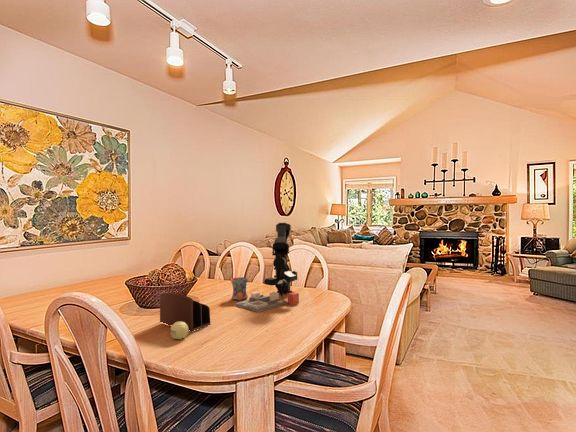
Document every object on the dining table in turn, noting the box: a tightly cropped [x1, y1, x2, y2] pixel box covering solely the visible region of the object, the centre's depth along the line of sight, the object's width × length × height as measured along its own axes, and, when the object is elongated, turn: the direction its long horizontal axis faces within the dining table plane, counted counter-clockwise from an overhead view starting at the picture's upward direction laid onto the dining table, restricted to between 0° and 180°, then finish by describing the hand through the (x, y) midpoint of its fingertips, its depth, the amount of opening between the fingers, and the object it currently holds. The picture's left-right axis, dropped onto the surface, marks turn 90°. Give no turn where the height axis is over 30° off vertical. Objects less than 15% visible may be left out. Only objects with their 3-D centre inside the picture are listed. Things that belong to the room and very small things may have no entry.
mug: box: [230, 276, 249, 301], centre depth 180 cm, size 12×9×11 cm
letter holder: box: [159, 292, 211, 332], centre depth 140 cm, size 10×20×14 cm, turn 57°
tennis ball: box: [169, 321, 189, 340], centre depth 125 cm, size 6×7×7 cm
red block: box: [286, 291, 300, 306], centre depth 168 cm, size 4×4×5 cm
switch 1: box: [250, 291, 261, 301], centre depth 171 cm, size 3×4×4 cm
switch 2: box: [268, 291, 280, 301], centre depth 169 cm, size 3×4×4 cm
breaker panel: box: [235, 294, 288, 313], centre depth 167 cm, size 19×17×3 cm
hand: (281, 295), depth 173 cm, fingers closed
